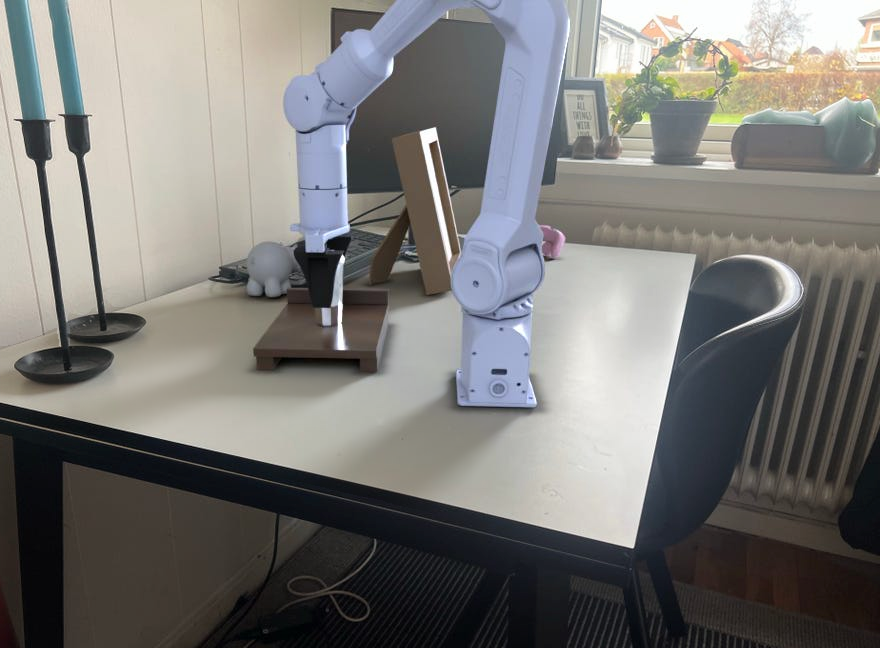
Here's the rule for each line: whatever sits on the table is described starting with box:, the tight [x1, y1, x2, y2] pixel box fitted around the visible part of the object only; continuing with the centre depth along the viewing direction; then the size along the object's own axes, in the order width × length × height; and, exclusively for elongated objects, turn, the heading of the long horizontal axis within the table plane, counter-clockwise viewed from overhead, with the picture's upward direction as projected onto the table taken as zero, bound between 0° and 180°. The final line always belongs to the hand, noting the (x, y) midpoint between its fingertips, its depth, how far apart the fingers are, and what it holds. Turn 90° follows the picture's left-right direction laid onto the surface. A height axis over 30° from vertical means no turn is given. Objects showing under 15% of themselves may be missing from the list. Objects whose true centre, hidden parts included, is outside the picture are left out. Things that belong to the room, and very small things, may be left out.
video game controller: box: [538, 224, 566, 260], centre depth 143 cm, size 10×5×7 cm, turn 58°
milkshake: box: [314, 255, 346, 326], centre depth 87 cm, size 4×5×10 cm
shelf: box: [252, 287, 390, 373], centre depth 89 cm, size 20×14×5 cm
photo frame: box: [368, 126, 462, 296], centre depth 120 cm, size 15×22×25 cm
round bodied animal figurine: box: [245, 241, 301, 298], centre depth 114 cm, size 7×12×8 cm, turn 152°
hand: (326, 299), depth 88 cm, fingers open, 7 cm apart
